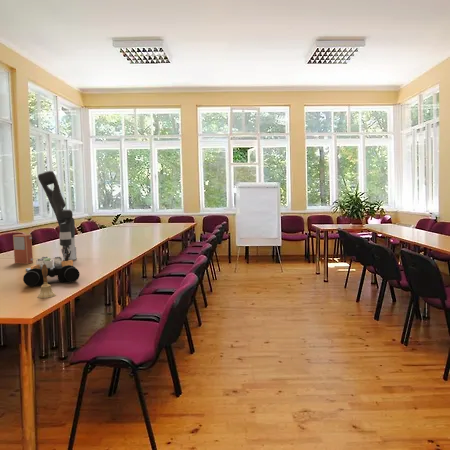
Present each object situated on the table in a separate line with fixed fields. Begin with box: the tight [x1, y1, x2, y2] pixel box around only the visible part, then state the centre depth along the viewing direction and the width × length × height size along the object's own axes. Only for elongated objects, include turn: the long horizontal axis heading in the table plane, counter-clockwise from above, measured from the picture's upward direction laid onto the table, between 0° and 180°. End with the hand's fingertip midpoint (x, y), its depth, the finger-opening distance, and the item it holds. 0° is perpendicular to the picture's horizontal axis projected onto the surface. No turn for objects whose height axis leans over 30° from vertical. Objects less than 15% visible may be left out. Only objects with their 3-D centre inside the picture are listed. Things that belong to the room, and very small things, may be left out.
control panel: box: [12, 233, 34, 265], centre depth 304 cm, size 21×7×15 cm
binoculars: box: [22, 265, 81, 287], centre depth 231 cm, size 29×20×10 cm
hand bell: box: [37, 264, 56, 299], centre depth 200 cm, size 8×8×16 cm
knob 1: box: [29, 258, 45, 269], centre depth 264 cm, size 12×5×7 cm, turn 171°
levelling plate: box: [25, 256, 64, 272], centre depth 273 cm, size 24×17×8 cm
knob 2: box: [53, 256, 74, 267], centre depth 276 cm, size 12×5×7 cm, turn 117°
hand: (66, 263), depth 280 cm, fingers closed
